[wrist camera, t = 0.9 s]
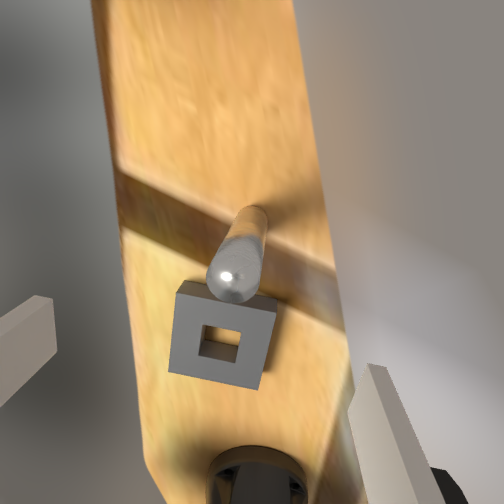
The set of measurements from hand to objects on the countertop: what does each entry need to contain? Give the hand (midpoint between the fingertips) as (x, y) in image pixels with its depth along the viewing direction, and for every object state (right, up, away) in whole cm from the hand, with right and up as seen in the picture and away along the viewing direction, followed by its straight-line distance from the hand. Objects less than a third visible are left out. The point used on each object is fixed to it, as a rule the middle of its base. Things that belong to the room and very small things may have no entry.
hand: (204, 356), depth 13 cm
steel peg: (+2, +8, +20) cm, 21 cm away
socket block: (-2, -5, +25) cm, 25 cm away
